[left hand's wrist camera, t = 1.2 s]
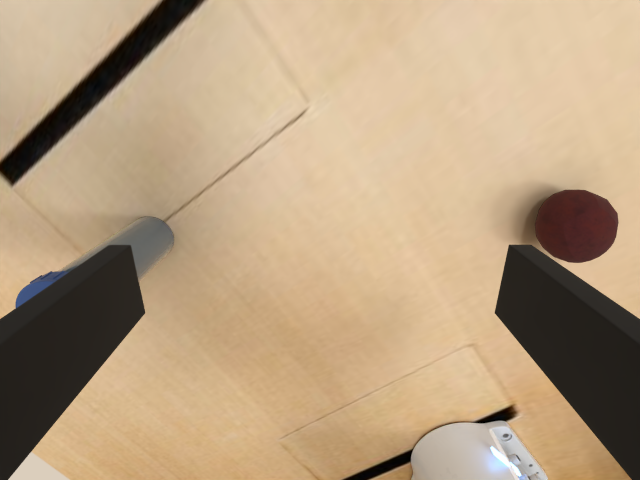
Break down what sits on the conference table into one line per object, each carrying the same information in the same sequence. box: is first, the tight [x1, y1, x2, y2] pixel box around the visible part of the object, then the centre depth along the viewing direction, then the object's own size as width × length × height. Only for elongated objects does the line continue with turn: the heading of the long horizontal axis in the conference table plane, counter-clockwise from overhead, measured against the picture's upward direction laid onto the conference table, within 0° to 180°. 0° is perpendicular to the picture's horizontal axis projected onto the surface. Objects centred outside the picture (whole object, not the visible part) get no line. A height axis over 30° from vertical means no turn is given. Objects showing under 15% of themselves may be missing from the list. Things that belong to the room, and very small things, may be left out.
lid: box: [16, 271, 69, 308], centre depth 27 cm, size 6×6×2 cm
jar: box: [57, 217, 174, 282], centre depth 35 cm, size 5×5×16 cm
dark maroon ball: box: [535, 190, 618, 263], centre depth 38 cm, size 7×8×7 cm
